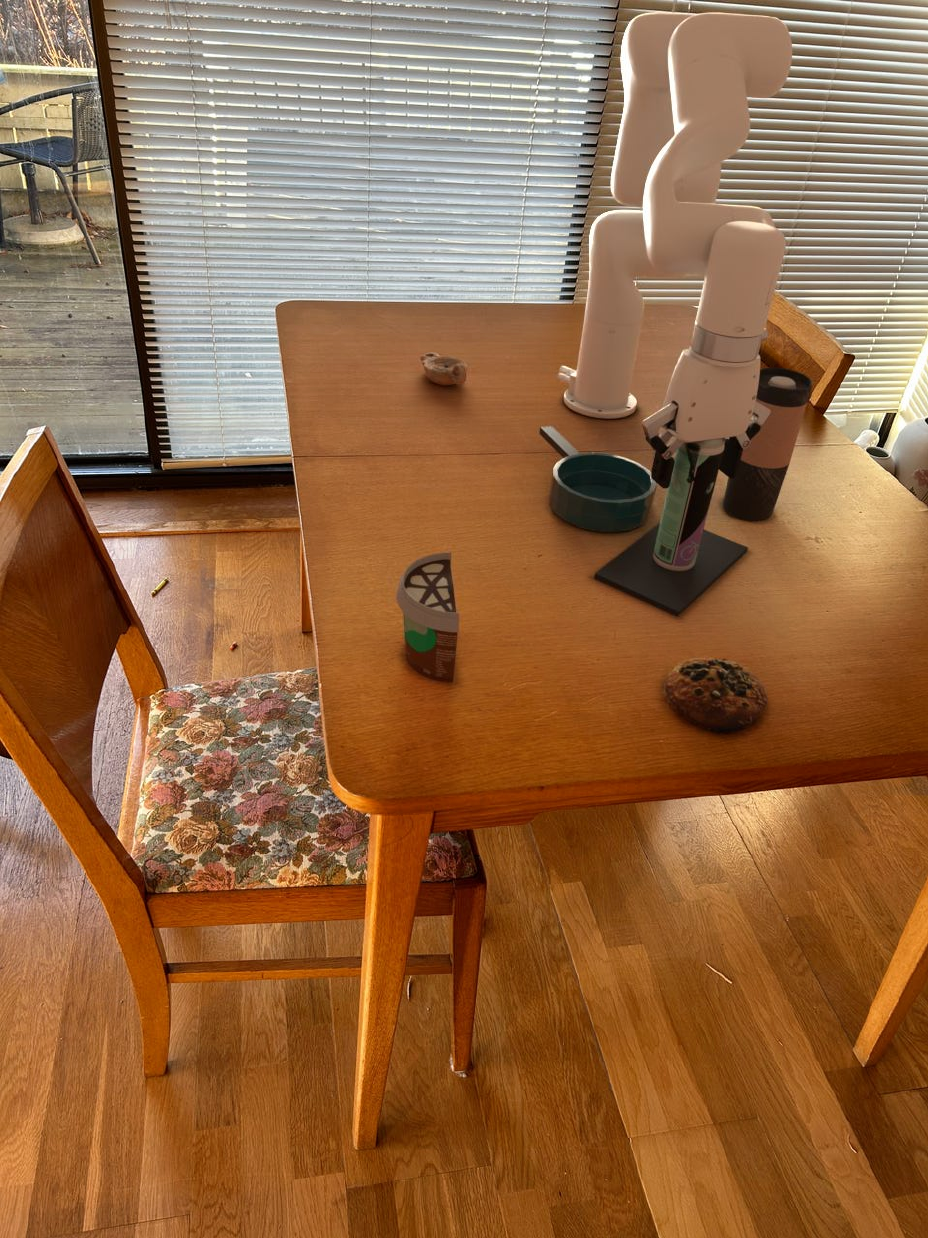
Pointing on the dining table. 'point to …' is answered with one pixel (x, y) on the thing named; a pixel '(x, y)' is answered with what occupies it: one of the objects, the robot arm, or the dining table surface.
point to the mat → (670, 571)
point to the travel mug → (769, 446)
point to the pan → (602, 492)
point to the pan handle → (557, 441)
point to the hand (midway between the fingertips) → (693, 478)
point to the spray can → (687, 503)
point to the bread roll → (715, 694)
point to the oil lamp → (444, 369)
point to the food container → (430, 616)
